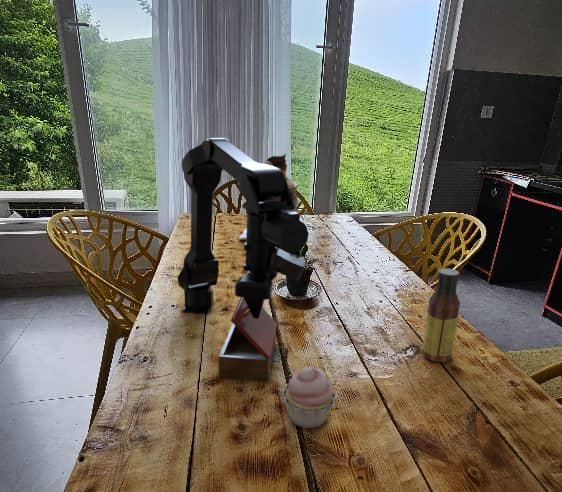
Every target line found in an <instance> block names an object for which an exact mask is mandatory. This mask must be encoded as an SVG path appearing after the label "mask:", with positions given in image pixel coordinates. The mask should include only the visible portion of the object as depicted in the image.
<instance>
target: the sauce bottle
mask: <svg viewBox="0 0 562 492" xmlns="http://www.w3.org/2000/svg"><path fill="white" fill-rule="evenodd" d="M459 279H460V271H458V270H456V269H453V268H449V267H448V268H440V269H438V271H437V285H436V290H435V291H434V293H432V295H431V296H429V300H428V308H427V312H426V318H425V319H426V320H425V326H424V327H425V328H424V336H423V344H422V353H423V355H424V356H425V358H426V359H427V360H430V361H432V362H436V363H447V362H449V361H450V360H451V359H452V355H453V352H454V348H455V343H456V342H455V341H456V335H457V330H458V329H457V328H458V322H459V313H460V312H459V311H460V306H461V302H460V300H459V297H458V294H457V285H458V280H459Z"/></svg>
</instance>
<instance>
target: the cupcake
mask: <svg viewBox="0 0 562 492" xmlns="http://www.w3.org/2000/svg"><path fill="white" fill-rule="evenodd" d="M281 394H282V397H283V399H284V400H283V401H284V403H285V405H286V406H287V407H286V408H287V412H288V416H289V418H290V420H291V422H292V423H293V424H294V425H296V426H298V427H300V428H302V429H303V428H304V429H316V428H318V427H321V426H322V425H323V424H324V423H325V422H326V420H327V417H328V415H329V412H330V410H331V409H332V408H333V407H334V406H335V404H336V402H335V400H336V398H337V397H338V395H337V393H336V392H334V387H333V385H332V384H331V382H330V381H329V379H328V377H327V376H326V374H325V373H324V372H322V371H321V370H320V369H318V368H317V367H314V366H308V367H305V368H302V369H301V371H299V372H297V373H296V374H294V375H293V376H292V377H291V378H290V379H289V382H288V383H286V384H285V389H284V390H282V391H281Z"/></svg>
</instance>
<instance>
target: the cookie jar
mask: <svg viewBox="0 0 562 492" xmlns="http://www.w3.org/2000/svg"><path fill="white" fill-rule="evenodd" d="M286 156H287V153H286V152H285V153H284V154H282V155H272V156H269V157H268V158H267V159H266V160H265V161H264V163H263V164H267V165H271V166H274V167H277V168H279V169H280V170H281V171H282V172H283V174H284V176H285V178H286V181H287V184H288V187H289V190H290V192H291V194H292V197H293V199H294V200H293V202H294V205H295V209H293V210H289V211H292V212H297V213H298V209H297V206H298V195H297V194H296V191H297V190H298V186H299V184H298V182H295V181H292V180H291V179H290V178H289V177H288V176H287V169H288V164H287V160H286ZM274 201H281V199H279V200H273V201H263V202H264V203H265V202H274ZM304 224H305V225H306V226H307V224H306V223H304ZM246 233H247V227H246V228H245V229H244V230H243V232H242V233H241V235H240V236H238V240H245V241H246Z"/></svg>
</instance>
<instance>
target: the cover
mask: <svg viewBox="0 0 562 492" xmlns="http://www.w3.org/2000/svg"><path fill="white" fill-rule="evenodd" d="M265 301H266V300H265V299H264V300H263V304H262V308H261V312H260V316H259V318H258V319H255V318H253V316H252V314H251V312H250V310H249V308H248V306H247V304H246V302H245V300H244V298H243V297H239V301H238V302H237V304H236V307H235V310H234V312H233V314H232V316H231V318H230V322H231V323H232V324H234V325H235V326H236V327H237V328H238V329H239V330H240V331H241V332H242V333H243V334H244V335H245V336H246V338H247V339H248V340H249V341H250V342H251V343H252V344H253V345H254V346H255V347H256V348H257V349H258V350H259V352H260V353H261V354H262V355H263V356H264V357H265V358H266V359H268V358H270V354H271V350H272V345H273V341H274V336H275V332H276V333H277V327H278V323H277V322H276V321H275V320H274V318H272V316H271V315H270V314H269V313H268V312H267V311H266V310H265V308H264V303H265Z"/></svg>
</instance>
